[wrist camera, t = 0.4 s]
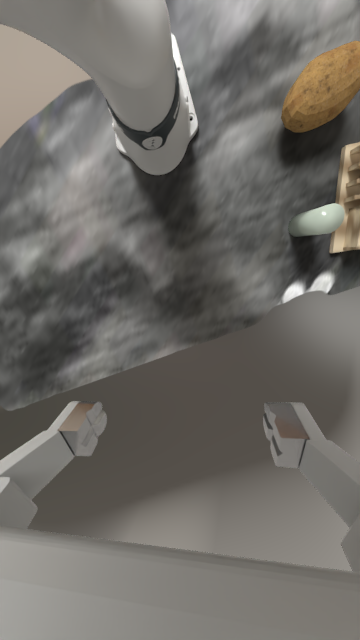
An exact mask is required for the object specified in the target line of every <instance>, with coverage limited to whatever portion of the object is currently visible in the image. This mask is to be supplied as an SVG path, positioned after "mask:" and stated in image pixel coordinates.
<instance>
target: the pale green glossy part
mask: <svg viewBox="0 0 360 640" xmlns="http://www.w3.org/2000/svg"><path fill="white" fill-rule="evenodd" d="M344 215H345V213H344V209H343V207H342V206H341V205H339V204H336V203H333V204H329V205H326V206H323V207H320V208H317V209H314V210H310V211H307V212H304V213H301V214H298V215H296V216H294V217H293V218H292V219H291V221H290V223H289V226H288V230H289V233H290V234H291V235H292V236H294V237H300V236H309V235H317V234H326V233H331V232H333V231H335V230H336V229H338V228H339V227H340V225H341V224H342V222H343V220H344Z"/></svg>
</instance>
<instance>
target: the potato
mask: <svg viewBox="0 0 360 640" xmlns="http://www.w3.org/2000/svg"><path fill="white" fill-rule="evenodd" d="M359 89H360V41H353V42H350V43H347V44H344V45H342V46H340V47H337V48H335V49H333V50H331V51H328V52H325V53H323V54H321V55H319V56H318V57H316V58H315V59H314V60H312V61H311V62H310V63H309V64H308V65H307V66H306V67H305V69H304V70H303V71H302V73H301V74H300V76H299V77H298V79H297V80H296V81H295V83H294V84H293V86H292V87H291V89H290V91H289V93H288V94H287V96H286V98H285V101H284V105H283V109H282V116H281V119H282V121H283V123H284V126H285V128H287V129H289V130H291V131H293V132H306V131H309V130H312V129H315V128H317V127H319V126H321V125H323V124H325V123H327V122H329V121H331V120H332V119H334V118H335V117H336V116H337V115H338V114H339V113H340V112H342V111H343V110H344V109H345V107H346V106H347V105H348V104H349V102H350V101H351V100H352V98H353V97H354V96H355V95H356V93H357V92H358V91H359Z"/></svg>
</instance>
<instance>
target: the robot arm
mask: <svg viewBox="0 0 360 640" xmlns="http://www.w3.org/2000/svg"><path fill="white" fill-rule="evenodd" d="M0 24H3V25H6V26H9V27H12V28H14V29H17V30H19V31H22V32H24V33H26V34H28V35H30V36H32V37H34V38H36V39H38V40H40V41H41V42H43V43H45V44H47V45H48V46H50V47H52V48H53V49H55V50H57V51H58V52H59V53H61V54H62V55H64V56H66V57H67V58H68V59H70V60H71V61H73V62H74V63H75V64H77V65H78V66H79V67H80V68H82V69H83V70H84V71H85V72H86V73H87V74H88V75H90V76H91V78H92V79H93V80H94V81H95V83H96V84H97V86H98V87H99V89H100V90H101V92H102V93H103V95H104V96H105V98H106V101H107V104H108V107H109V112H110V115H111V116H113V124H112V126H113V129H114V131H115V136H116V145H117V148H118V150H119V151H120V152H121V153H123V154H124V155H126V156H128V157H130V158H131V159H132V160H133V161H134V162H135V164H136V165H137V166H138V167H139V168H140V169H142V170H143V171H145V172H146V173H149V174H152V175H163V174H166V173H168V172H170V171H172V170H173V169H174V168H175V167H177V165H178V164H179V163H180V162H181V160H182V158H183V156H184V154H185V152H186V149H187V146H188V144H189V142H190V140H191V139H192V138H193V137H194V135H195V134H196V132H197V130H198V121H197V117H196V113H195V110H194V106H193V102H192V98H191V94H190V91H189V87H188V83H187V79H186V75H185V72H184V68H183V64H182V60H181V56H180V53H179V49H178V45H177V41H176V38H175V36H174V35H173V34H172V33H171V27H170V19H169V13H168V9H167V5H166V2H165V0H0ZM190 118H192V119H193V120H192V121H190ZM102 407H103V406H102V404H101V402H87V401H72V402H70V403H69V404H68V405H67V406H66V408H65V409H64V410H63V411H62V413H61V414H60V415H59V416H58V418H57V419H56V420H55V421H54V423H53V424H52V425H51V426H50V428H49V429H48V430H47V431H43V432H42V433H40V434H39V435H37V436H36V437H34V438H33V439H31V440H30V441H28V442H27V443H25V444H24V445H23V446H21V447H19V448H18V449H16V450H15V451H14V452H12V453H11V454H9V455H8V456H6V457H5V458H3V459H2V460H0V640H360V463H359V462H358V461H357V460H355V459H354V458H353V457H352V456H350V455H349V454H348V453H346V452H345V451H344V450H342V449H341V448H340V447H338V446H337V445H336V444H334V443H333V442H332V441H328V440H326V439H325V437H324V436H323V434H322V432H321V431H320V429H319V427H318V426H317V424H316V423H315V421H314V419H313V418H312V416H311V414H310V413H309V411H308V410H307V408H306V406H305V405H304V404H303V403H288V402H287V403H286V402H282V403H281V402H280V403H279V402H278V403H277V402H272V403H265V405H264V410H265V412H266V413H265V414H264V415H263V425H264V430H265V434H266V437H267V439H268V440H269V441H270V442H271V447H270V449H271V453H272V456H273V459H274V461H275V465H276V466H279V467H290V468H299V470H300V471H301V472H302V474H303V475H304V476H305V477H306V478H307V480H308V481H309V482H310V483H311V484H312V485H313V486H314V488H315V489H316V490H317V491H318V492H319V493H320V494H321V496H322V497H323V498H324V499H325V500H326V501H327V502H328V504H329V505H330V506H331V507H332V508H333V509H334V510H335V511H336V513H337V514H338V515H339V516H340V517H341V518H342V519H343V521H344V522H345V523H346V524H347V525H348V526H349V530H348V531H347V533H346V535H345V536H344V538H343V540H342V542H341V546H342V548H343V551H344V553H345V555H346V557H347V560H348V562H349V564H350V566H351V569H352V571H353V572H351V571H344V570H337V569H328V568H321V567H314V566H306V565H298V564H290V563H282V562H275V561H267V560H260V559H252V558H244V557H236V556H229V555H221V554H213V553H206V552H198V551H190V550H182V549H175V548H167V547H159V546H152V545H143V544H137V543H128V542H121V541H113V540H106V539H98V538H91V537H83V536H75V535H67V534H60V533H51V532H44V531H36V530H29V529H27V527H28V525H29V524H30V522H31V520H32V519H33V517H34V515H35V514H36V512H37V506H36V505H35V504H34V503H33V502H32V501H31V500H32V499H33V498H34V497H35V495H37V494H38V493H39V492H40V491H41V490H42V489H43V487H44V486H46V485H47V484H48V482H50V481H51V479H52V478H54V477H55V476H56V475H57V474H58V473H59V472H60V471H61V470H62V469H63V468H64V467H65V466H66V465H67V464H68V463H69V462H70V461H71V460H72V459H73V458H74V456H91V454H92V453H93V451H94V448H95V447H96V445H97V443H98V436H99V435H100V434H101V433H103V431H104V429H105V426H106V422H107V417H106V413H105V412H104V411H103V410H101V409H102Z"/></svg>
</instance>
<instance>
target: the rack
mask: <svg viewBox="0 0 360 640" xmlns="http://www.w3.org/2000/svg"><path fill="white" fill-rule="evenodd" d="M335 203H336V204H339V205H341V206H342V207H343V209H344V213H345V215H344V220H343V222H342V224H341V225H340V227H339V228H338V229H336V230H335V231H333V232H332V235H331V243H330V252H329V253H336V252H342V251H348V250H358V249H360V142H359V143H354V144H350V145H346V146H344V147H343V148H342V151H341V159H340V168H339V176H338V184H337V193H336V201H335Z"/></svg>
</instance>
